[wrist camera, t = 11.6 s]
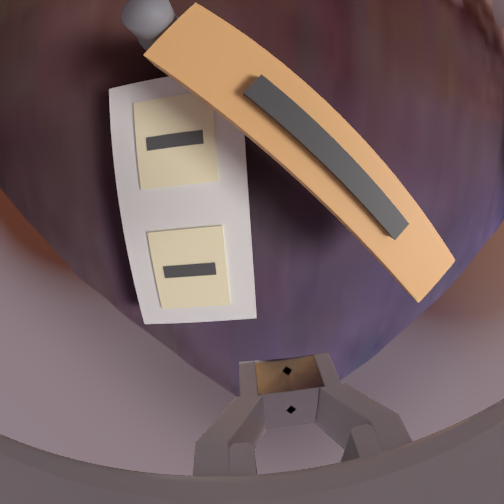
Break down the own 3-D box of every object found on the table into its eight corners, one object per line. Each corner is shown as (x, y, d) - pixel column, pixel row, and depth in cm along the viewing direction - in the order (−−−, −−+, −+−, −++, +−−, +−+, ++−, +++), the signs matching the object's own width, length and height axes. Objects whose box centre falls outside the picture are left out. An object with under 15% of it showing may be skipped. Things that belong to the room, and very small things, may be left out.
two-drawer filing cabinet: (123, 55, 24) (90, 31, 16) (236, 37, 24) (237, 3, 16) (152, 305, 34) (134, 347, 26) (254, 299, 34) (259, 342, 26)
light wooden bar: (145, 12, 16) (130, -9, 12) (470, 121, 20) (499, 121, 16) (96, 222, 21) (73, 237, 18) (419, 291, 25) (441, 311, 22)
